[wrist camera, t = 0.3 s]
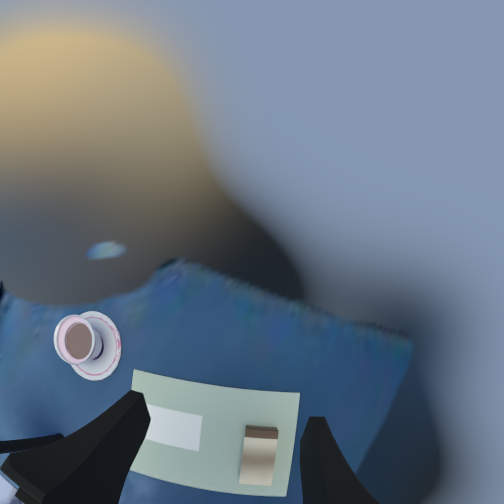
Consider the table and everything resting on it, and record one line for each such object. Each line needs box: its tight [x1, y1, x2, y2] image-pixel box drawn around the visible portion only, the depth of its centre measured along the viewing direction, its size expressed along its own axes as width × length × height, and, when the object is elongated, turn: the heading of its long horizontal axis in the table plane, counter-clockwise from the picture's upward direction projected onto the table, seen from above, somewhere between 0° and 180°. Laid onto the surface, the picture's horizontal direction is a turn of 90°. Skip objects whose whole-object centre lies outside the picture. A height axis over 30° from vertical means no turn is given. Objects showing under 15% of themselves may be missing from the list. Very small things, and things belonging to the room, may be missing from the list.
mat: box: [130, 369, 300, 496], centre depth 32 cm, size 18×25×1 cm
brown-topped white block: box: [239, 425, 279, 486], centre depth 29 cm, size 9×4×3 cm, turn 174°
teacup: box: [54, 311, 122, 381], centre depth 35 cm, size 12×12×6 cm
